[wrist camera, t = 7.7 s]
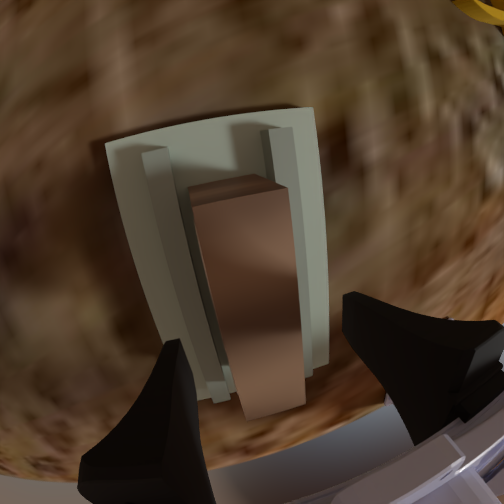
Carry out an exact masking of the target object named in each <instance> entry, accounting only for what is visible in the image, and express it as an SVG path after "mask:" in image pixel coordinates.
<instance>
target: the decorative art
mask: <svg viewBox="0 0 504 504" xmlns="http://www.w3.org/2000/svg"><path fill="white" fill-rule="evenodd" d="M490 1H491V3H492V5H493V7H491V6H488V5H486V4H484V3H482V2H480V1H478V0H455V1H452V2H453V3H454V4H455V5H456V6H457V7H458V8H459V9H460V10H461V11H463V12H464V13H465V14H467V15H468V16H470V17H472V18H473V19H475V20H478V21H481V22H485V23H489V24H493V25H497V26H500V27H501V29H502V32H503V35H504V0H490Z"/></svg>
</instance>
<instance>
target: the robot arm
mask: <svg viewBox="0 0 504 504" xmlns="http://www.w3.org/2000/svg"><path fill="white" fill-rule="evenodd" d="M342 332H343V333H344V335H345V337H346V339H347V340H348V342H349V344H350V345H351V347H352V348H353V350H354V351H355V352H356V353H357V355H358V356H359V357H360V358H361V360H362V361H363V362H364V363H365V364H366V366H367V367H368V368H369V369H370V370H371V372H372V373H373V374H374V375H375V376H376V378H377V379H378V380H379V382H380V383H381V384H382V386H383V387H384V389H385V390H386V392H387V393H386V397H385V401H384V405H385V406H389V405H391V404H394V405H395V407H396V409H397V410H398V412H399V414H400V416H401V418H402V420H403V422H404V424H405V426H406V428H407V430H408V432H409V434H410V437H411V439H412V441H413V444H414V446H415V447H413V448H412V449H410V450H408V451H406V452H405V453H403V454H401V455H399V456H397V457H396V458H394V459H392V460H390V461H388V462H386V463H384V464H382V465H380V466H378V467H377V468H374V469H372V470H370V471H368V472H366V473H364V474H362V475H360V476H357V477H355V478H353V479H351V480H349V481H346V482H343V483H341V484H339V485H336V486H334V487H331V488H328V489H326V490H323V491H320V492H318V493H315V494H312V495H309V496H306V497H303V498H300V499H297V500H294V501H291V502H287V503H284V504H502V503H501V502H500V501H499V500H498V498H497V497H496V496H499V495H504V460H503V461H502V462H501V463H500V464H499V465H498V466H497V467H496V468H494V467H495V466H496V465H497V464H498V463H499V462H500V461H501V460H502V459H503V457H504V372H503V371H502V370H501V369H502V368H503V364H502V363H500V362H499V359H500V357H501V354H502V352H503V350H504V326H503V325H501V324H500V323H499V322H497V321H496V320H486V321H459V320H454V319H453V318H449V319H441V318H435V317H430V316H426V315H421V314H418V313H414V312H411V311H408V310H404V309H401V308H398V307H396V306H393V305H390V304H387V303H385V302H382V301H380V300H377V299H375V298H372V297H369V296H367V295H364V294H361V293H359V292H355V291H353V292H350V293H347V294H344V295H343V313H342ZM493 468H494V469H493ZM492 469H493V470H492ZM77 489H78V491H79V493H80V494H81V495H82V496H83V497H84V498H86V499H87V500H88V501H90V502H91V503H93V504H216V501H215V498H214V495H213V491H212V488H211V484H210V480H209V477H208V473H207V469H206V464H205V460H204V456H203V451H202V446H201V440H200V431H199V419H198V405H197V392H196V387H195V382H194V376H193V372H192V369H191V367H190V364H189V362H188V359H187V356H186V354H185V351H184V348H183V345H182V343H181V340H180V338H178V339H173V340H168V341H165V343H164V345H163V348H162V350H161V353H160V355H159V357H158V360H157V362H156V364H155V366H154V368H153V371H152V373H151V375H150V377H149V379H148V381H147V382H146V384H145V386H144V388H143V390H142V392H141V393H140V395H139V396H138V398H137V400H136V401H135V403H134V404H133V406H132V407H131V408H130V410H129V411H128V412H127V414H126V415H125V416H124V417H123V418H122V420H121V421H120V422H119V423H118V424H117V426H116V427H115V428H114V429H113V430H112V431H111V432H110V433H109V434H108V435H107V436H106V437H105V438H104V439H102V440H101V441H100V442H99V443H98V444H97V445H95V446H94V447H93V448H92V449H90V450H89V451H88V452H87V453H85V454H84V455H83V456H82V457H81V462H80V467H79V476H78V486H77Z"/></svg>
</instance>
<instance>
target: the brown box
mask: <svg viewBox="0 0 504 504" xmlns="http://www.w3.org/2000/svg"><path fill="white" fill-rule="evenodd" d="M188 191H189V196H190V201H191V206H192V211H193V216H194V219H193V221H194V225H195V230H196V235H197V239H198V244H199V248H200V253H201V257H202V261H203V266H204V270H205V274H206V278H207V282H208V286H209V291H210V295H211V299H212V303H213V307H214V311H215V315H216V318H217V322H218V326H219V330H220V334H221V338H222V341H223V345H224V349H225V352H226V356H227V360H228V363H229V367H230V370H231V374H232V377H233V381H234V384H235V388H236V391H237V395H239V398H240V402H241V405H242V408H243V412H244V415H245V418H246V421H250V420H254V419H258V418H261V417H265V416H268V415H272V414H275V413H278V412H282V411H285V410H288V409H291V408H294V407H297V406H300V405H303V404H306V396H305V375H304V358H303V342H302V328H301V314H300V302H299V290H298V278H297V267H296V257H295V247H294V237H293V227H292V218H291V209H290V201H289V192H288V188H287V187H285V186H283V185H280V184H278V183H276V182H273V181H271V180H269V179H266V178H264V177H261V176H259V175H257V174H250V175H244V176H239V177H233V178H228V179H223V180H218V181H213V182H208V183H203V184H199V185H194V186H189V187H188Z"/></svg>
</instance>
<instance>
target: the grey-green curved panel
mask: <svg viewBox="0 0 504 504" xmlns="http://www.w3.org/2000/svg"><path fill="white" fill-rule="evenodd" d="M105 147H106V153H107V158H108V163H109V167H110V172H111V177H112V181H113V186H114V190H115V194H116V198H117V202H118V206H119V210H120V214H121V218H122V222H123V225H124V229H125V233H126V236H127V240H128V243H129V247H130V250H131V253H132V257H133V260H134V263H135V266H136V269H137V273H138V276H139V279H140V282H141V285H142V288H143V291H144V294H145V296H146V299H147V302H148V305H149V308H150V311H151V313H152V316H153V319H154V321H155V324H156V327H157V329H158V332H159V335H160V337H161V340H162V342H163V345H164V343H165V341H168V340H173V339H178V338H180V340H181V343H182V345H183V348H184V351H185V354H186V356H187V359H188V362H189V364H190V367H191V369H192V372H193V376H194V382H195V387H196V392H197V401H198V400H203V399H207V398H212V400H213V402H214V403H218V402H223V401H227V400H231V398H230V394H229V393H233V392H237V391H236V388H235V384H234V381H233V377H232V374H231V370H230V367H229V363H228V360H227V356H226V352H225V349H224V345H223V341H222V338H221V334H220V330H219V326H218V322H217V318H216V315H215V311H214V307H213V303H212V299H211V295H210V291H209V286H208V282H207V278H206V274H205V270H204V266H203V261H202V257H201V253H200V248H199V244H198V239H197V235H196V230H195V225H194V221H193V219H194V216H193V211H192V206H191V201H190V196H189V191H188V187H189V186H194V185H199V184H203V183H208V182H213V181H218V180H223V179H228V178H233V177H239V176H244V175H250V174H257V175H259V176H261V177H264V178H266V179H269V180H271V181H273V182H276V183H278V184H280V185H283V186H285V187H287V188H288V192H289V201H290V209H291V218H292V227H293V237H294V247H295V257H296V267H297V278H298V290H299V302H300V314H301V328H302V342H303V358H304V375H305V378H307V377H310V376H313V369H315V368H317V367H320V366H323V365H326V364H329V291H328V263H327V243H326V227H325V213H324V200H323V189H322V178H321V168H320V159H319V150H318V141H317V133H316V125H315V118H314V111H313V107H305V108H292V109H280V110H270V111H261V112H252V113H245V114H237V115H230V116H224V117H218V118H212V119H206V120H200V121H195V122H190V123H185V124H180V125H175V126H170V127H166V128H161V129H157V130H153V131H149V132H145V133H141V134H137V135H133V136H129V137H125V138H122V139H118V140H115V141H111V142H108V143H105Z"/></svg>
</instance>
